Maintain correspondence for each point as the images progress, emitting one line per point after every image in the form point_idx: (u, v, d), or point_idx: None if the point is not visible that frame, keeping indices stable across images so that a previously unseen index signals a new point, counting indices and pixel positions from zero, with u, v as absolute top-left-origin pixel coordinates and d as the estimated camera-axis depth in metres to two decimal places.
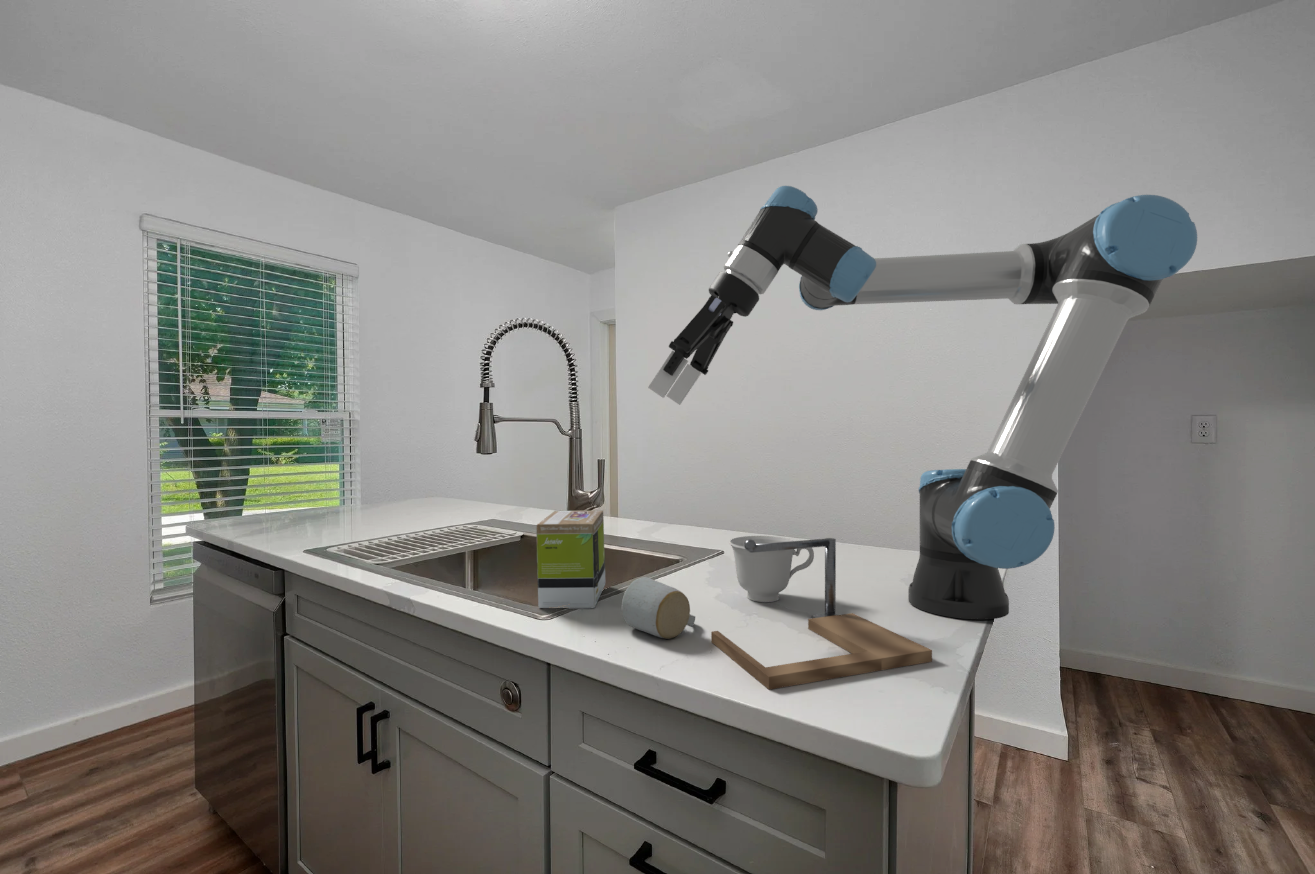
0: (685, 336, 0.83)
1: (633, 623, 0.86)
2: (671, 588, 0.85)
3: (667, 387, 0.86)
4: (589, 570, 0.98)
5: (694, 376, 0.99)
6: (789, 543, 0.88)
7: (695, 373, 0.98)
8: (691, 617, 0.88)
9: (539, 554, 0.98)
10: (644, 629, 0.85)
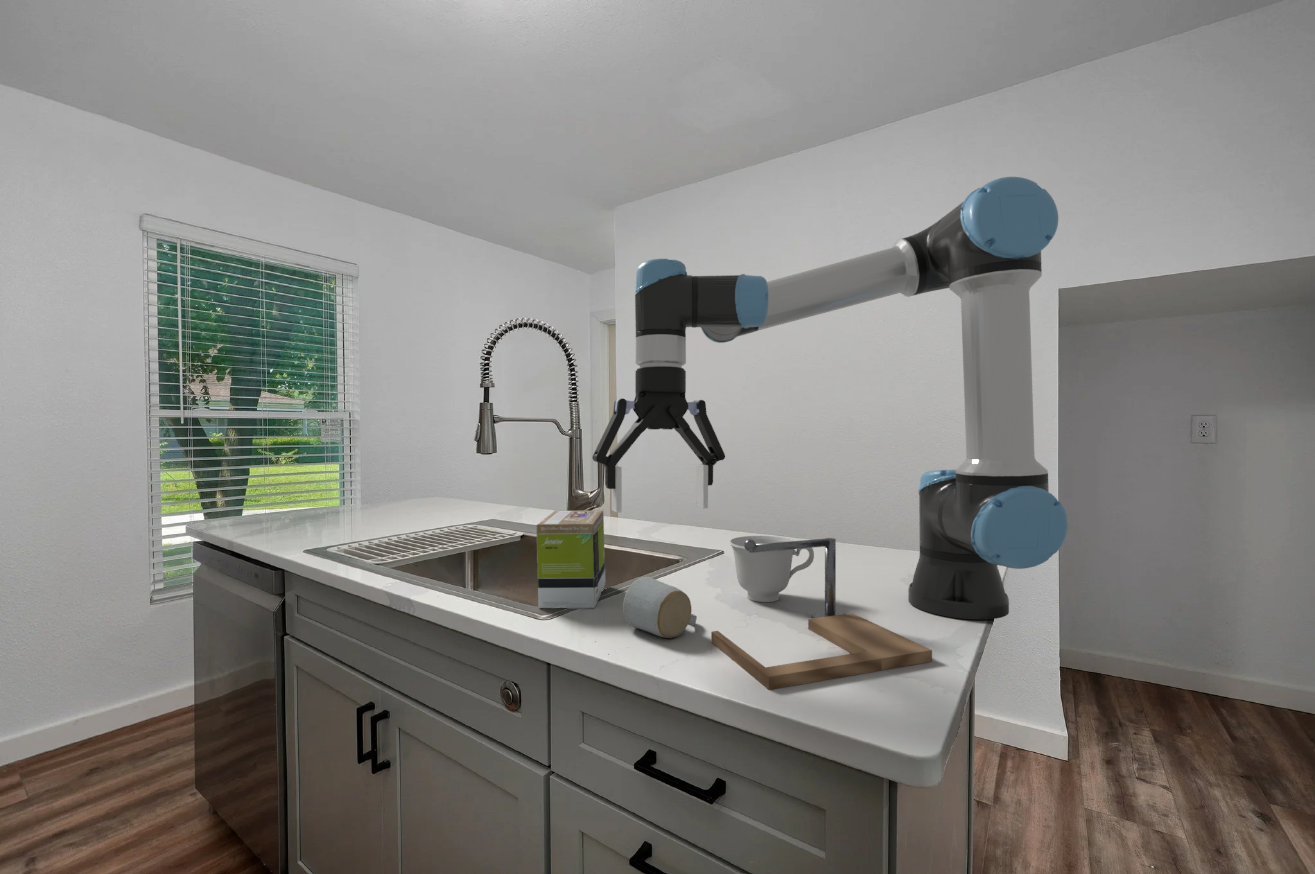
0: (597, 449, 0.85)
1: (635, 623, 0.86)
2: (673, 588, 0.85)
3: (616, 501, 0.84)
4: (589, 570, 0.98)
5: (702, 472, 0.89)
6: (789, 543, 0.88)
7: (701, 469, 0.89)
8: (692, 617, 0.88)
9: (539, 554, 0.98)
10: (646, 629, 0.85)
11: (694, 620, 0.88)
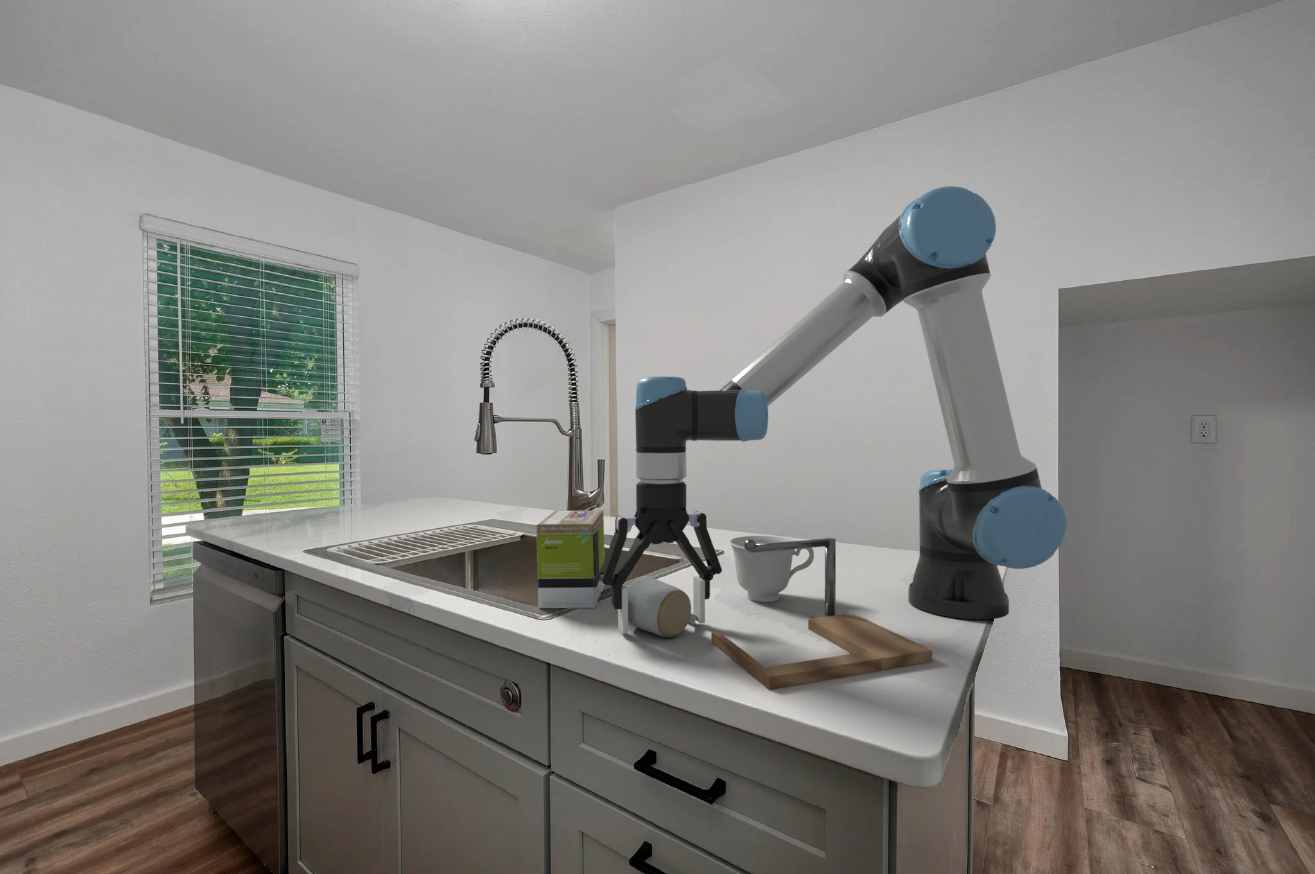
0: (603, 569, 0.85)
1: (634, 622, 0.86)
2: (672, 587, 0.86)
3: (622, 621, 0.85)
4: (589, 570, 0.98)
5: (698, 587, 0.89)
6: (789, 543, 0.88)
7: (698, 583, 0.89)
8: (692, 616, 0.88)
9: (539, 554, 0.98)
10: (645, 628, 0.85)
11: (694, 619, 0.89)
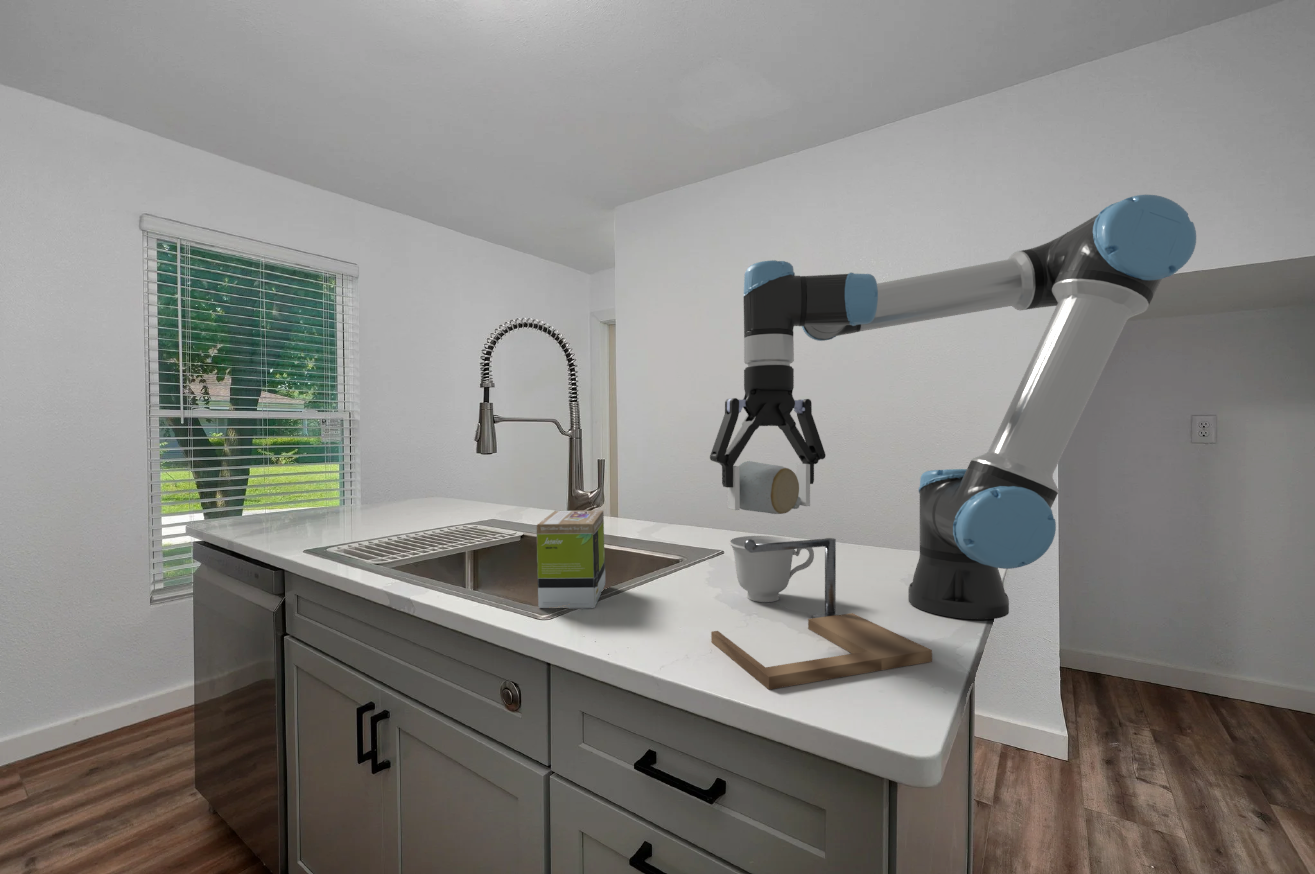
0: (715, 449, 0.88)
1: (744, 501, 0.89)
2: (782, 466, 0.88)
3: (734, 499, 0.87)
4: (589, 570, 0.98)
5: (804, 471, 0.91)
6: (789, 543, 0.88)
7: (803, 468, 0.91)
8: (798, 498, 0.90)
9: (539, 554, 0.98)
10: (756, 505, 0.88)
11: (799, 502, 0.91)
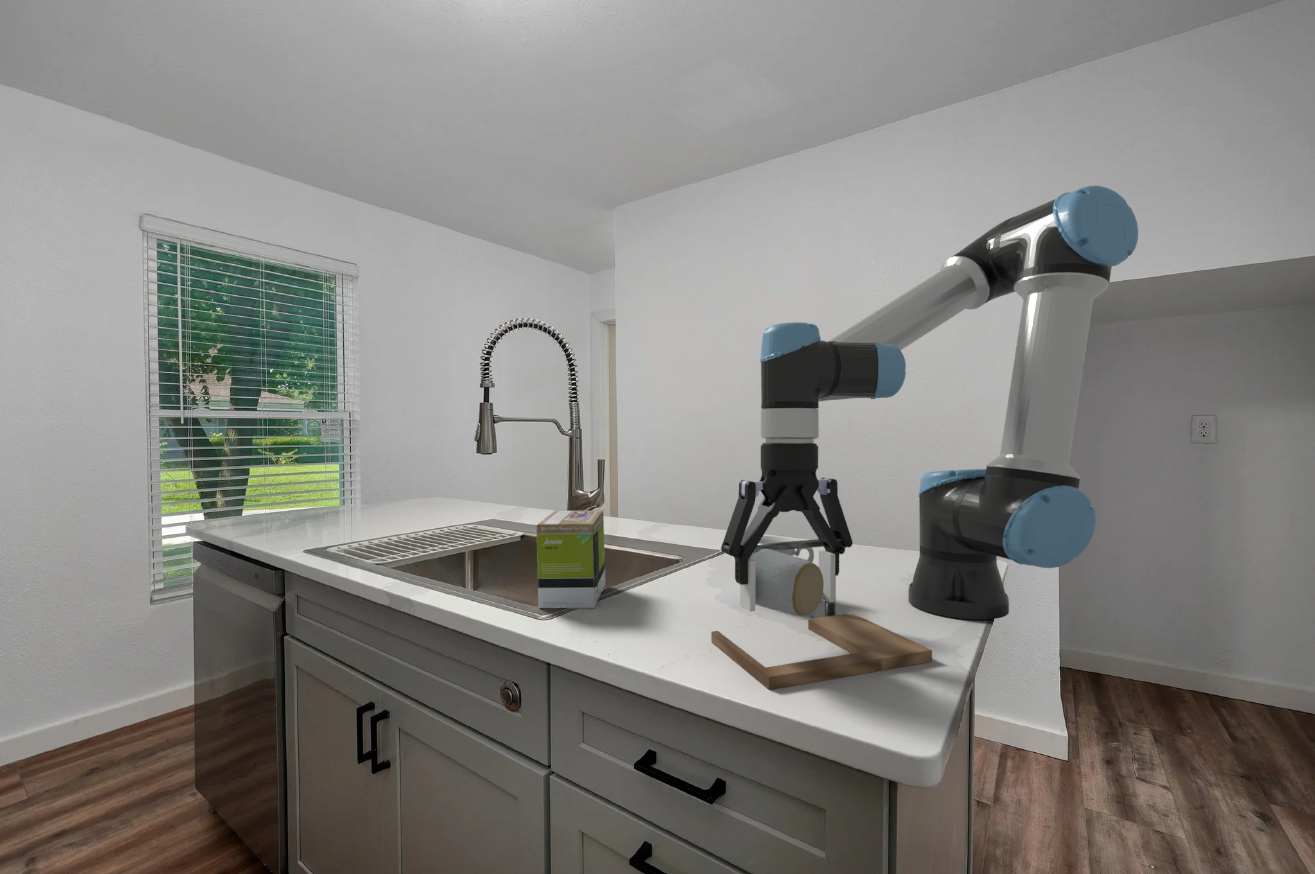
0: (727, 539, 0.76)
1: (760, 599, 0.77)
2: (804, 560, 0.76)
3: (749, 598, 0.75)
4: (589, 570, 0.98)
5: (828, 562, 0.79)
6: (789, 543, 0.88)
7: (827, 558, 0.80)
8: (822, 593, 0.79)
9: (539, 554, 0.98)
10: (774, 605, 0.76)
11: (822, 597, 0.79)
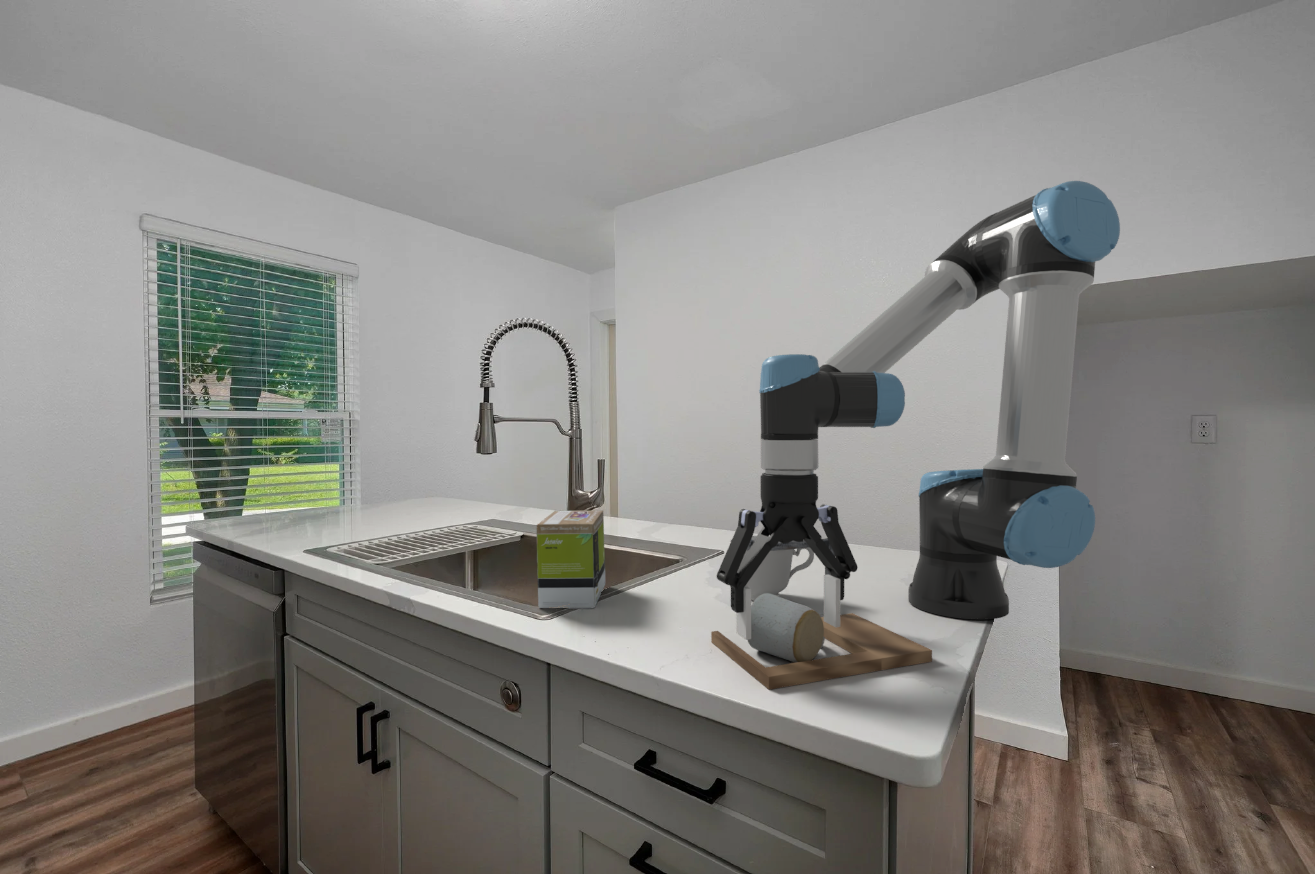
0: (723, 567, 0.75)
1: (760, 645, 0.77)
2: (804, 606, 0.76)
3: (745, 626, 0.75)
4: (589, 570, 0.98)
5: (833, 586, 0.80)
6: (789, 543, 0.88)
7: (832, 583, 0.80)
8: (822, 638, 0.79)
9: (539, 554, 0.98)
10: (775, 652, 0.76)
11: (823, 642, 0.79)
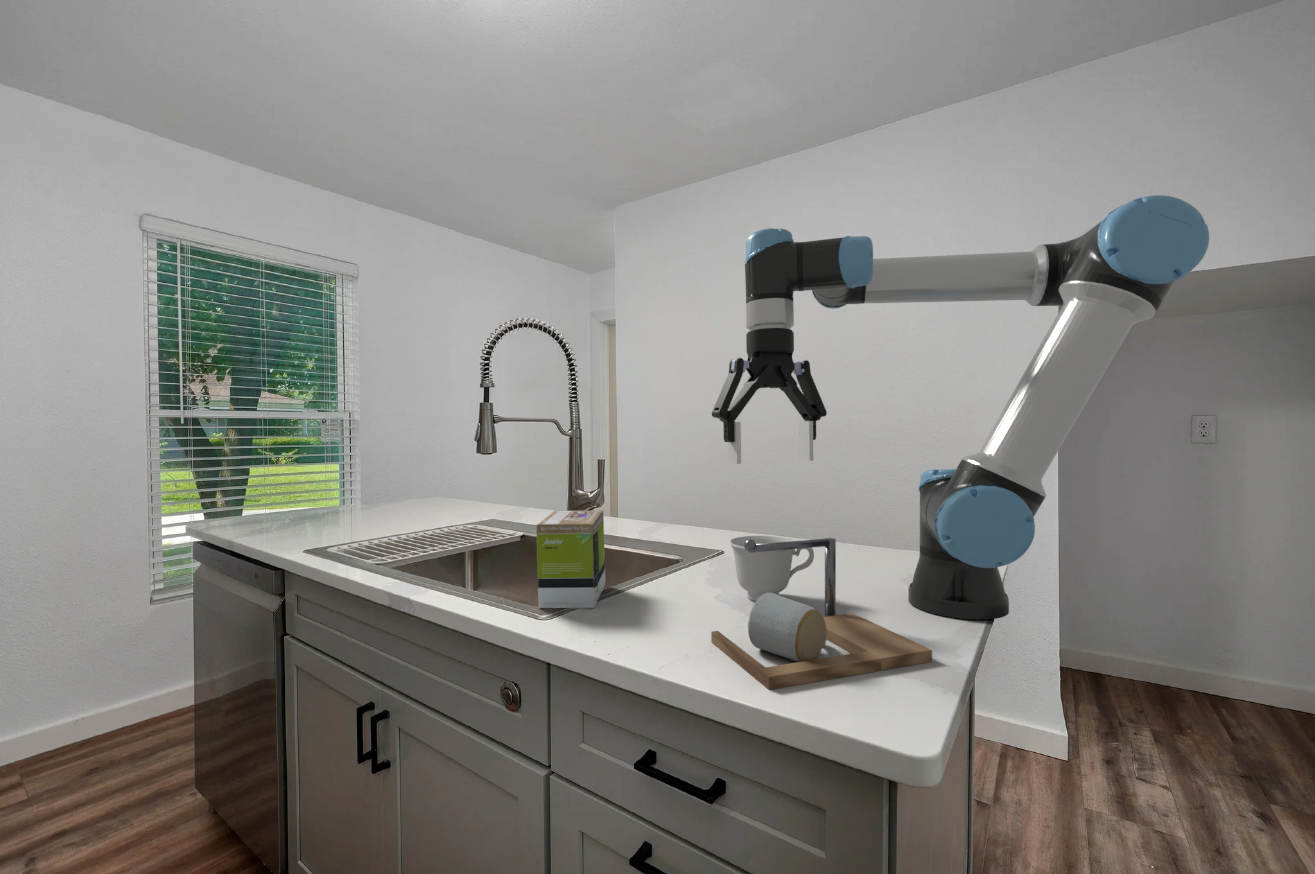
0: (717, 405, 0.91)
1: (763, 644, 0.77)
2: (806, 606, 0.77)
3: (736, 453, 0.91)
4: (589, 570, 0.98)
5: (807, 427, 0.96)
6: (789, 543, 0.88)
7: (806, 424, 0.96)
8: (824, 637, 0.79)
9: (539, 554, 0.98)
10: (777, 652, 0.76)
11: (825, 641, 0.80)
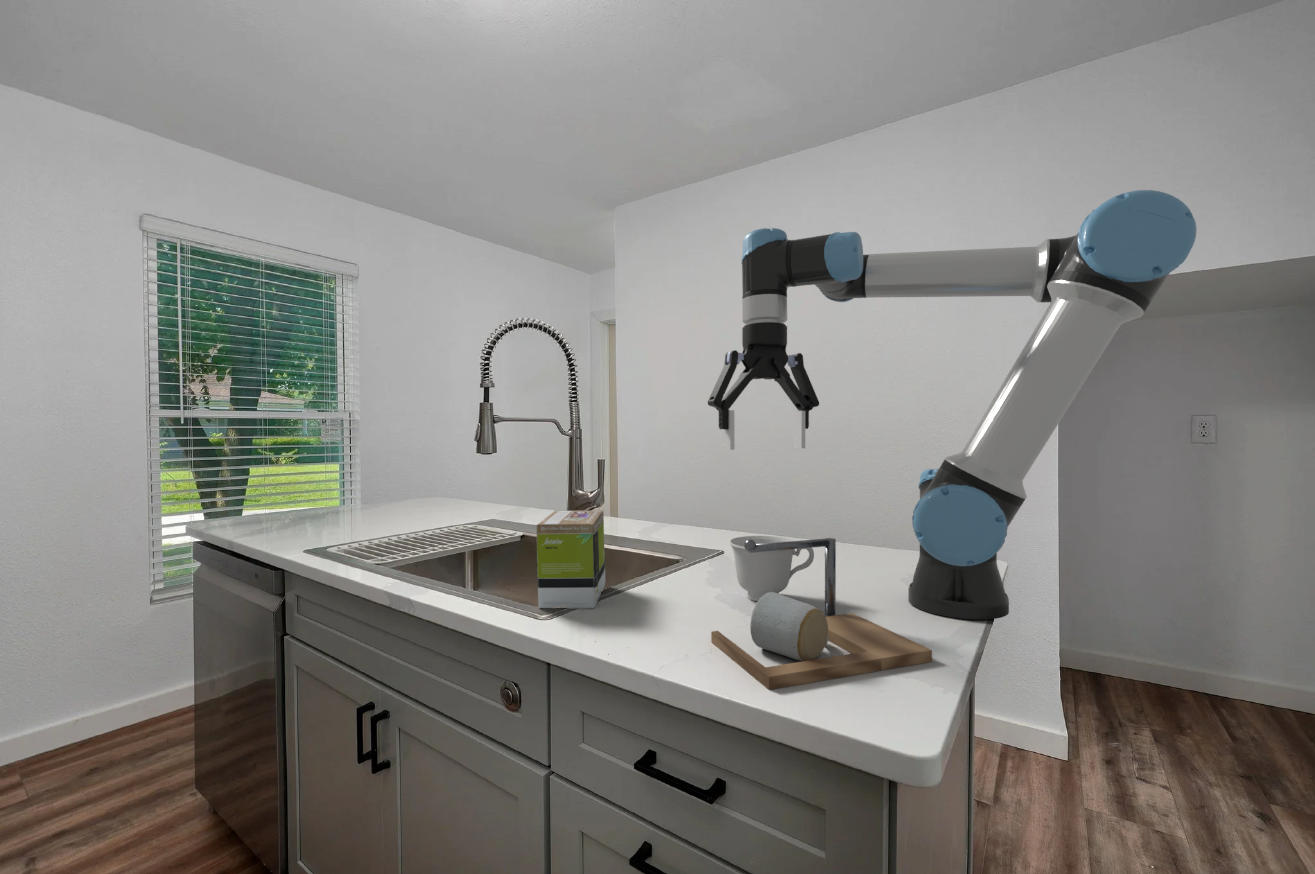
0: (712, 394, 0.97)
1: (765, 644, 0.78)
2: (808, 605, 0.77)
3: (729, 439, 0.97)
4: (589, 570, 0.98)
5: (799, 417, 1.01)
6: (789, 543, 0.88)
7: (799, 414, 1.01)
8: (826, 637, 0.79)
9: (539, 554, 0.98)
10: (779, 651, 0.76)
11: (827, 640, 0.80)
